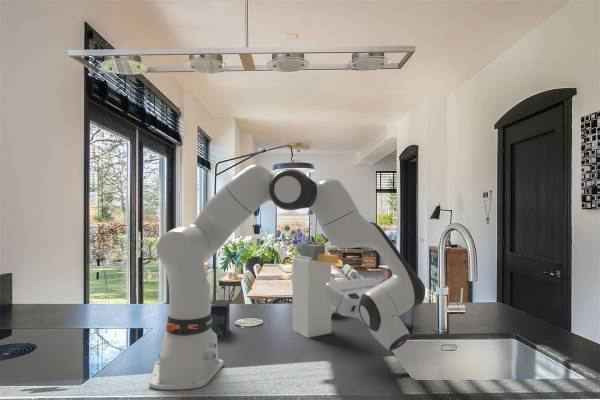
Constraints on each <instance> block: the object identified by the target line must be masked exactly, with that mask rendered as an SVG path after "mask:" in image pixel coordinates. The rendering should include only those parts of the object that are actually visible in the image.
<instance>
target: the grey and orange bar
mask: <svg viewBox="0 0 600 400" xmlns="http://www.w3.org/2000/svg"><path fill="white" fill-rule="evenodd" d="M301 256H306V257H312V260H313V261H321V262H327V263H331V265H332V264H339V255H335V254H330V253H329V254H328V253H326V246H325V245H321V244H313V243H312V244H311V243H309V244H302V245H301Z"/></svg>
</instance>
